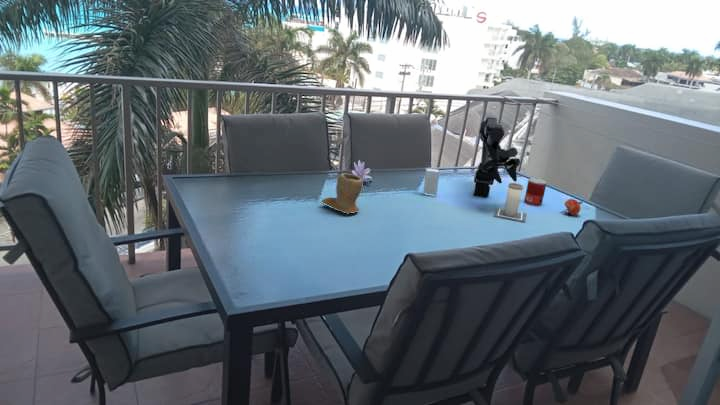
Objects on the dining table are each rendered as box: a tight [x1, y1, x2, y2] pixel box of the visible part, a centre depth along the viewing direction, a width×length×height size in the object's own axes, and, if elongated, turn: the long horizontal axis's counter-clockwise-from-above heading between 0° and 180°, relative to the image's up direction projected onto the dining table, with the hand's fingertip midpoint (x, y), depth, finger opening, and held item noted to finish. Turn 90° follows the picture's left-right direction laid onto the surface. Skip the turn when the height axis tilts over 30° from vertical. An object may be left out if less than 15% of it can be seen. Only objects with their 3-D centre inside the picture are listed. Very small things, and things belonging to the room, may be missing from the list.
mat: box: [493, 207, 527, 224], centre depth 207 cm, size 13×11×1 cm
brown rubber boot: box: [320, 172, 364, 213], centre depth 194 cm, size 15×12×15 cm
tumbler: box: [503, 182, 524, 217], centre depth 204 cm, size 6×6×13 cm
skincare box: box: [423, 168, 440, 196], centre depth 223 cm, size 6×4×12 cm
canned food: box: [524, 177, 547, 206], centre depth 225 cm, size 8×8×11 cm
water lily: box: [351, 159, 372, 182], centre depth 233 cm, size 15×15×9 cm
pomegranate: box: [560, 198, 583, 216], centre depth 214 cm, size 7×7×10 cm
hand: (508, 182), depth 206 cm, fingers open, 9 cm apart
